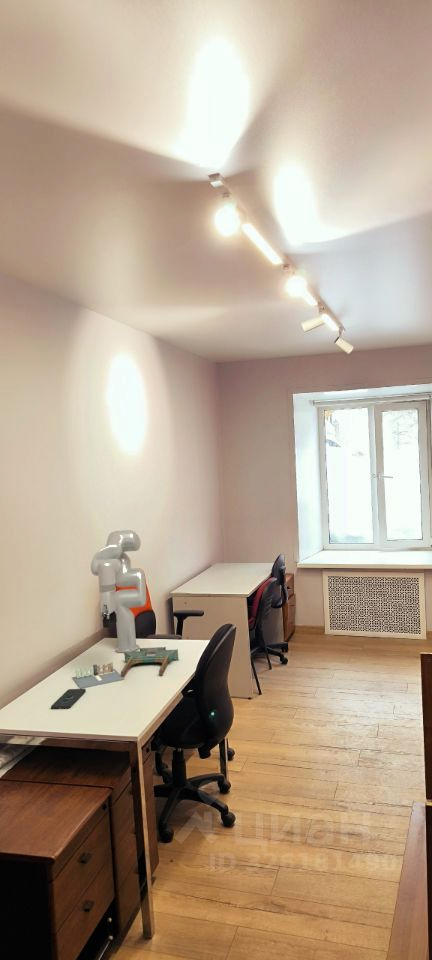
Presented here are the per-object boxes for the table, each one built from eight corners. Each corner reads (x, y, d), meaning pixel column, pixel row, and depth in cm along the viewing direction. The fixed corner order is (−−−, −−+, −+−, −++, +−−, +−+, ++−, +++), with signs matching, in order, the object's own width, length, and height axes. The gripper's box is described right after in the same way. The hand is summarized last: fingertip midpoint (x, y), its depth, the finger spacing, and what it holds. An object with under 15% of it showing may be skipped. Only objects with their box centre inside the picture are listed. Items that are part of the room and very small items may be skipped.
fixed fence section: (94, 675, 290) (93, 666, 290) (93, 674, 292) (92, 665, 292) (113, 671, 294) (113, 662, 294) (112, 670, 295) (112, 661, 295)
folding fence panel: (92, 674, 291) (92, 666, 291) (93, 675, 290) (92, 667, 290) (76, 677, 288) (75, 669, 288) (76, 678, 287) (76, 670, 287)
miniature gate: (111, 668, 286) (127, 646, 316) (113, 680, 286) (128, 657, 316) (170, 666, 283) (180, 644, 313) (171, 678, 284) (181, 655, 314)
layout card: (72, 678, 291) (72, 677, 291) (114, 669, 299) (114, 668, 299) (80, 688, 275) (80, 687, 275) (124, 679, 283) (124, 678, 283)
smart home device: (49, 706, 253) (68, 688, 273) (50, 710, 253) (68, 692, 273) (69, 705, 252) (86, 688, 272) (69, 710, 252) (86, 692, 272)
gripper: (105, 585, 301) (108, 620, 301) (93, 592, 284) (96, 629, 284) (120, 584, 300) (123, 620, 300) (109, 591, 283) (112, 629, 283)
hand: (110, 624), depth 292 cm, fingers open, 9 cm apart
